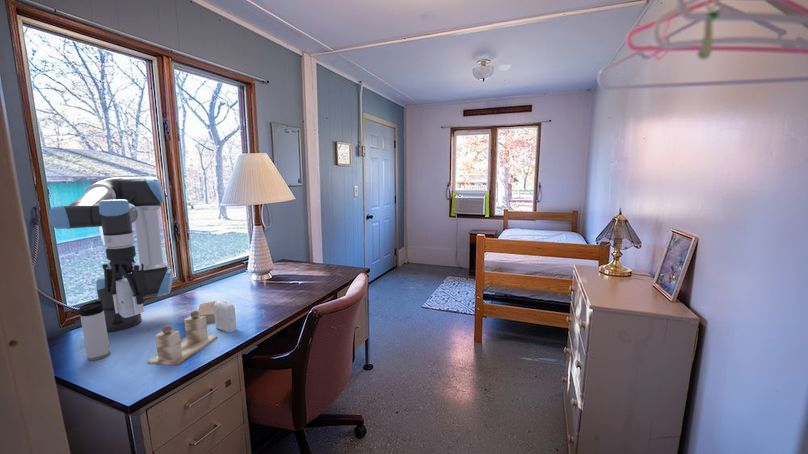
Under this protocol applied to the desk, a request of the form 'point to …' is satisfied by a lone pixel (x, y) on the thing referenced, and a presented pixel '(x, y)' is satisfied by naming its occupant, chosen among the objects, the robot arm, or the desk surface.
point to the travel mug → (94, 330)
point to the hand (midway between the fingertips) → (129, 312)
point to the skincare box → (125, 298)
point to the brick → (207, 311)
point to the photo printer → (224, 316)
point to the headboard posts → (181, 341)
